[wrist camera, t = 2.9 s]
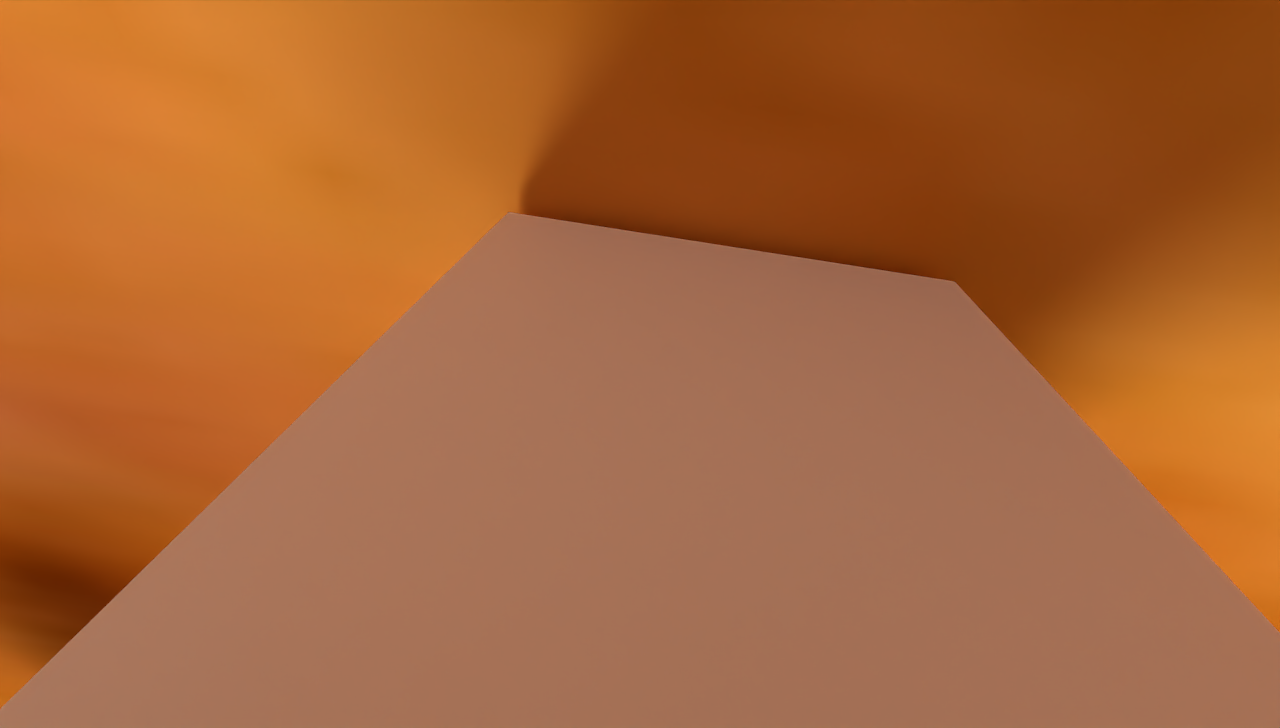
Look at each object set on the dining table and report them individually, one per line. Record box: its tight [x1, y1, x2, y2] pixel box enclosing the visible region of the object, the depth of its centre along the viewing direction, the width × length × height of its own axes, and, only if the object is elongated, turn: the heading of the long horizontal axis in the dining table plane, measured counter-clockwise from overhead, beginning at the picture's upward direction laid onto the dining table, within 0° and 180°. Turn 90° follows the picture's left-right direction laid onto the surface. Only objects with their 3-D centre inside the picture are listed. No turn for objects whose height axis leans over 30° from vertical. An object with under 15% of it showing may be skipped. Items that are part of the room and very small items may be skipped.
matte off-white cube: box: [0, 212, 1280, 728], centre depth 7 cm, size 8×8×9 cm
